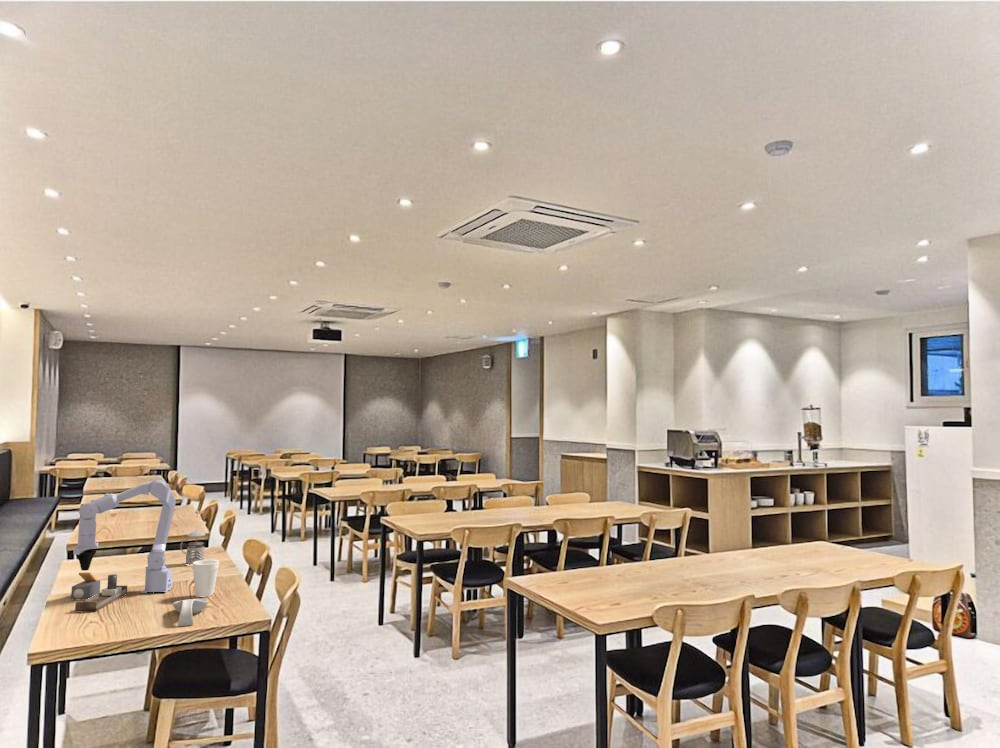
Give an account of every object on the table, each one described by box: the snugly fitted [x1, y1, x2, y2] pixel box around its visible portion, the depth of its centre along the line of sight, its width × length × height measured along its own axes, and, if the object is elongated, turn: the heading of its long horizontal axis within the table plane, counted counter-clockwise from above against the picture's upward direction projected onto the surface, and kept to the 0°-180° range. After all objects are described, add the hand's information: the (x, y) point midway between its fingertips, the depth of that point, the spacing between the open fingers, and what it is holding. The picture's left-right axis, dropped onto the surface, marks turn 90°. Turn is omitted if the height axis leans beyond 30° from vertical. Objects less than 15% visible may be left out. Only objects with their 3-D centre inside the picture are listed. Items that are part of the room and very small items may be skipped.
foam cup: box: [192, 559, 220, 597], centre depth 265 cm, size 10×9×13 cm
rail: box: [74, 585, 128, 613], centre depth 253 cm, size 7×24×3 cm, turn 5°
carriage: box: [101, 573, 122, 596], centre depth 260 cm, size 5×5×7 cm
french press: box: [180, 510, 206, 565], centre depth 321 cm, size 10×12×25 cm
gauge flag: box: [78, 572, 98, 581], centre depth 262 cm, size 4×7×1 cm
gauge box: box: [70, 579, 101, 600], centre depth 261 cm, size 6×10×5 cm, turn 5°
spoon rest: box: [172, 598, 210, 627], centre depth 238 cm, size 24×12×7 cm, turn 21°
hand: (85, 570), depth 260 cm, fingers closed
